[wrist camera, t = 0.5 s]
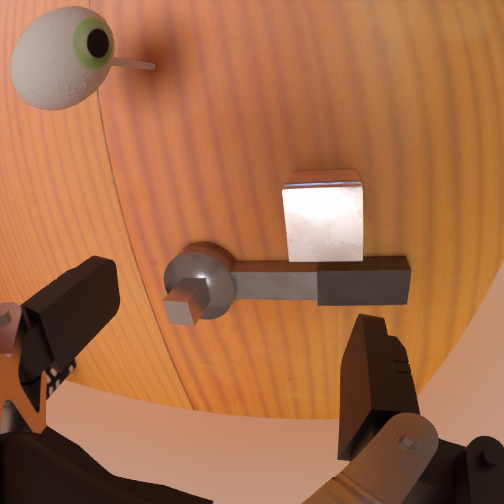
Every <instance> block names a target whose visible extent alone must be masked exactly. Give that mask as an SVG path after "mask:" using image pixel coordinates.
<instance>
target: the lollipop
mask: <svg viewBox="0 0 504 504" xmlns="http://www.w3.org/2000/svg"><path fill="white" fill-rule="evenodd" d="M111 65H113V66H123V67H132V68H140V69H147V70H154V69H155V68H156V65H155V64H154V63H148V62H143V61H136V60H130V59H123V58H115V57H114V38H113V33H112V31H111V29H110V27H109V25H108V24H107V22H106V20H105V19H104V18H102V17H101V16H100V15H99V14H97V13H95V12H94V11H92V10H89V9H87V8H84V7H78V6H70V7H63V8H59V9H56V10H53V11H50V12H48V13H46V14H44V15H42V16H41V17H39V18H38V19H36V20H35V21H34V22H33V23H32V24H31V25H30V26H29V27H28V28H27V29H26V30H25V31H24V32H23V34H22V35H21V36H20V38H19V40H18V41H17V43H16V45H15V48H14V50H13V53H12V56H11V63H10V75H11V80H12V84H13V86H14V88H15V90H16V92H17V94H18V95H19V96H20V98H21V99H22V100H23V101H25V102H26V103H28V104H29V105H31V106H33V107H36V108H39V109H43V110H61V109H66V108H69V107H71V106H74V105H76V104H78V103H80V102H82V101H83V100H85V99H86V98H87V97H89V96H90V95H91V94H92V93H94V92H95V91H96V90H97V89H98V88H99V86H100V85H101V84H102V82H103V81H104V80H105V78H106V76H107V74H108V72H109V70H110V68H111Z"/></svg>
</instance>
